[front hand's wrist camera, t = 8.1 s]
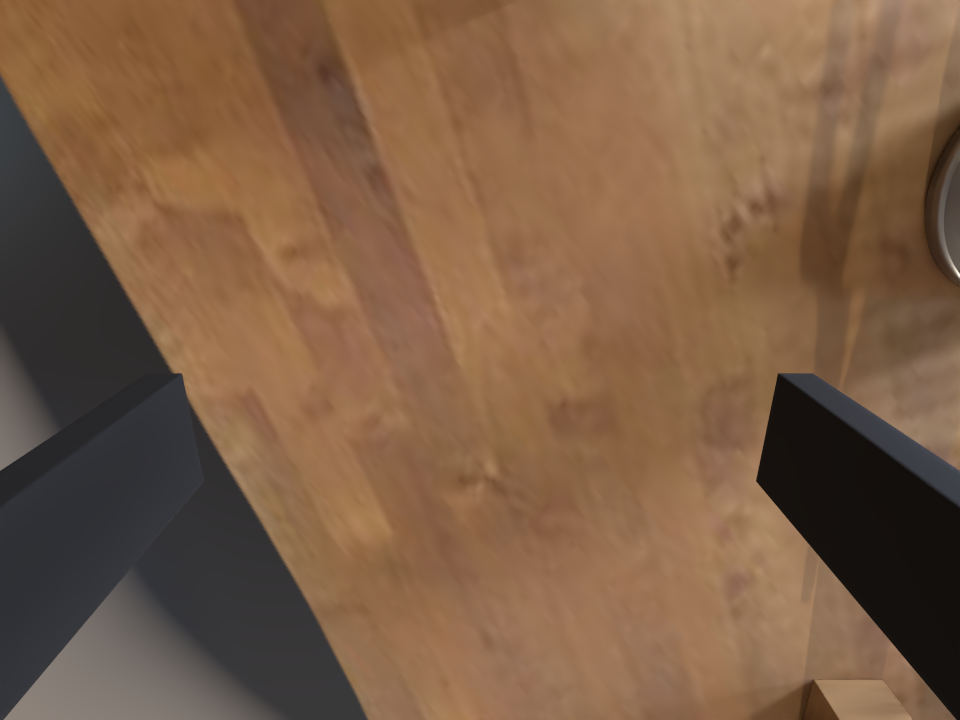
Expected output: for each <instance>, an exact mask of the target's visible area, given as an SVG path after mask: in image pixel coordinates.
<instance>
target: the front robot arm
mask: <svg viewBox="0 0 960 720" xmlns="http://www.w3.org/2000/svg"><path fill="white" fill-rule="evenodd" d="M925 230H926V237H927V242H928V246H929V248H930V251H931V254H932V256H933V258H934V260H935V262H936V264H937V265H938V267H939V268H940V270H941V271H942V272H943V273H944V275H945V276H946V277H947V278H948V279H949V280H951V281H952V282H953V283H954V284H955V285H957V286H958V287H960V127H959V129H958V130H957V131H956V133H955V134H954V136H953V137H952V139H951V140H950V142H949V143H948V145H947V147H946V148H945V150H944V152H943V154H942V156H941V158H940V160H939V162H938V164H937V166H936V169H935V171H934V174H933V176H932V179H931V183H930V186H929V190H928V195H927V200H926V207H925ZM203 482H204V480H203V475H202V470H201V465H200V460H199V455H198V450H197V445H196V440H195V435H194V430H193V426H192V421H191V416H190V411H189V406H188V401H187V396H186V391H185V386H184V381H183V376H182V374H146V375H144V376H143V377H141V378H140V379H138V380H137V381H135V382H134V383H132V384H131V385H129V386H128V387H126V388H125V389H123V390H122V391H120V392H119V393H117V394H116V395H114V396H113V397H111V398H110V399H108V400H107V401H105V402H103V403H102V404H101V405H99V406H98V407H96V408H95V409H93V410H92V411H90V412H88V413H87V414H85V415H84V416H82V417H81V418H79V419H78V420H76V421H75V422H73V423H72V424H70V425H69V426H67V427H66V428H64V429H63V430H61V431H60V432H58V433H57V434H55V435H54V436H52V437H51V438H49V439H48V440H46V441H45V442H43V443H42V444H40V445H39V446H37V447H36V448H34V449H33V450H31V451H30V452H28V453H27V454H25V455H24V456H22V457H21V458H19V459H18V460H16V461H15V462H13V463H12V464H10V465H9V466H7V467H6V468H4V469H3V470H1V471H0V720H4V718H5V717H6V716H7V715H8V714H9V712H10V711H11V710H12V709H13V708H14V706H15V705H16V704H17V703H18V702H19V700H20V699H21V698H22V697H23V696H24V695H25V693H26V692H27V691H28V690H29V689H30V687H31V686H32V685H33V684H34V683H35V681H36V680H37V679H38V678H39V677H40V676H41V674H42V673H43V672H44V671H45V670H46V668H47V667H48V666H49V665H50V664H51V662H52V661H53V660H54V659H55V658H56V656H57V655H58V654H59V653H60V652H61V651H62V649H63V648H64V647H65V646H66V645H67V643H68V642H69V641H70V640H71V639H72V637H73V636H74V635H75V634H76V633H77V632H78V630H79V629H80V628H81V627H82V626H83V624H84V623H85V622H86V621H87V620H88V618H89V617H90V616H91V615H92V614H93V612H94V611H95V610H96V609H97V608H98V606H99V605H100V604H101V603H102V602H103V601H104V599H105V598H106V597H107V596H108V595H109V593H110V592H111V591H112V590H113V589H114V587H115V586H116V585H117V584H118V583H119V581H120V580H121V579H122V578H123V577H124V576H125V574H126V573H127V572H128V571H129V570H130V568H131V567H132V566H133V565H134V564H135V562H136V561H137V560H138V559H139V558H140V556H141V555H142V554H143V553H144V552H145V551H146V549H147V548H148V547H149V546H150V545H151V543H152V542H153V541H154V540H155V539H156V537H157V536H158V535H159V534H160V533H161V532H162V530H163V529H164V528H165V527H166V526H167V524H168V523H169V522H170V521H171V520H172V518H173V517H174V516H175V515H176V514H177V513H178V511H179V510H180V509H181V508H182V507H183V505H184V504H185V503H186V502H187V501H188V499H189V498H190V497H191V496H192V495H193V493H194V492H195V491H196V490H197V489H198V488H199V486H200V485H201V484H202V483H203ZM756 482H757V483H758V484H759V485H760V486H761V488H762V489H763V490H764V491H765V492H766V493H767V495H768V496H769V497H770V498H771V499H772V501H773V502H774V503H775V504H776V505H777V507H778V508H779V509H780V510H781V511H782V513H783V514H784V515H785V516H786V517H787V518H788V520H789V521H790V522H791V523H792V524H793V526H794V527H795V528H796V529H797V530H798V532H799V533H800V534H801V535H802V536H803V538H804V539H805V540H806V541H807V542H808V543H809V545H810V546H811V547H812V548H813V549H814V551H815V552H816V553H817V554H818V555H819V557H820V558H821V559H822V560H823V561H824V563H825V564H826V565H827V566H828V567H829V568H830V570H831V571H832V572H833V573H834V574H835V576H836V577H837V578H838V579H839V580H840V582H841V583H842V584H843V585H844V586H845V587H846V589H847V590H848V591H849V592H850V593H851V595H852V596H853V597H854V598H855V599H856V601H857V602H858V603H859V604H860V605H861V607H862V608H863V609H864V610H865V611H866V612H867V614H868V615H869V616H870V617H871V618H872V620H873V621H874V622H875V623H876V624H877V626H878V627H879V628H880V629H881V630H882V632H883V633H884V634H885V635H886V636H887V637H888V639H889V640H890V641H891V642H892V643H893V645H894V646H895V647H896V648H897V649H898V651H899V652H900V653H901V654H902V655H903V656H904V658H905V659H906V660H907V661H908V662H909V664H910V665H911V666H912V667H913V668H914V670H915V671H916V672H917V673H918V674H919V676H920V677H921V678H922V679H923V680H924V681H925V683H926V684H927V685H928V686H929V687H930V689H931V690H932V691H933V692H934V693H935V695H936V696H937V697H938V698H939V699H940V701H941V702H942V703H943V704H944V705H945V706H946V708H947V709H948V710H949V711H950V712H951V714H952V715H953V716H954V717H955V718H956V720H960V471H959V470H957V469H956V468H954V467H953V466H951V465H950V464H948V463H947V462H945V461H944V460H942V459H941V458H939V457H938V456H936V455H935V454H933V453H932V452H930V451H929V450H927V449H926V448H924V447H923V446H921V445H920V444H918V443H917V442H915V441H914V440H912V439H911V438H909V437H908V436H906V435H905V434H903V433H902V432H900V431H899V430H897V429H896V428H894V427H893V426H891V425H890V424H888V423H887V422H885V421H884V420H882V419H881V418H879V417H878V416H876V415H875V414H873V413H872V412H870V411H869V410H867V409H866V408H864V407H863V406H861V405H860V404H858V403H857V402H855V401H853V400H852V399H850V398H849V397H847V396H846V395H844V394H843V393H841V392H840V391H838V390H837V389H835V388H834V387H832V386H831V385H829V384H828V383H826V382H825V381H823V380H822V379H820V378H819V377H817V376H816V375H814V374H778V376H777V381H776V386H775V391H774V396H773V401H772V406H771V411H770V416H769V421H768V426H767V430H766V435H765V440H764V445H763V450H762V455H761V460H760V465H759V470H758V475H757V479H756Z"/></svg>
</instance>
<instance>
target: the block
mask: <svg viewBox="0 0 960 720" xmlns="http://www.w3.org/2000/svg"><path fill="white" fill-rule="evenodd" d="M802 720H912V718H911V717H910V716H909V714H908V713H907V712H906V710H905V709H904V708H903V706H902V705H901V704H900V702H899V701H898V700H897V699H896V697H895V696H894V695H893V693H892V692H891V691H890V689H889V688H888V687H887V685H886V684H885V683H884V681H883V680H814V681H813V684H812V688H811V691H810V695H809V698H808V702H807V705H806V709H805V712H804V715H803V719H802Z"/></svg>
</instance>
